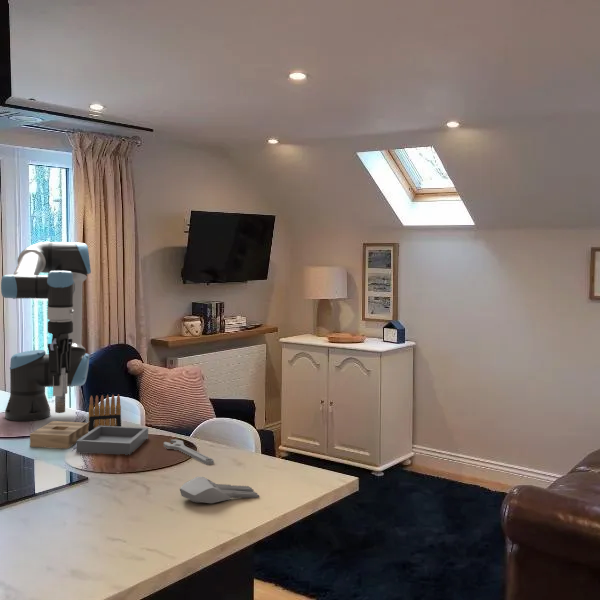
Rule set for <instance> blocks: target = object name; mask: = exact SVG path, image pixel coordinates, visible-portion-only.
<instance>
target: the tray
mask: <svg viewBox="0 0 600 600" xmlns="http://www.w3.org/2000/svg"><path fill="white" fill-rule="evenodd" d="M146 439H147V440H148V439H149V427H136V426H135V427H134V426H121V427H119V426H97V427H96V428H94V429H93V430H91V431H90V432H89V431H88V433H87V434H85V435H84V436H82V437H81V438H80V439H78V440H77V441H76V444H75V446H76V447H75V449H76V450H75V452H76V453H82V454H83V453H85V454H101V453H103V454H104V455H120V454H125V455H124V456H131V455H132V454H133V453H134V452H135V451H136V450H137V449H139V447H141V445H143V444H142V443H143V442H144V441H145V440H146ZM147 440H146V441H147ZM146 441H145V442H146ZM145 442H144V443H145ZM135 449H136V450H135ZM134 450H135V451H134ZM133 451H134V452H133ZM132 452H133V453H132ZM128 454H129V455H128Z"/></svg>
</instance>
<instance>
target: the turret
mask: <svg viewBox="0 0 600 600" xmlns="http://www.w3.org/2000/svg"><path fill="white" fill-rule="evenodd" d="M179 491H180V496H181V497H183V498H185V499H188V500H189V501H191V502H193V503H197V504H199V503H207V504H215V503H219V502H224V501H229V500H230V501H231V500H232V499H239V498H240V499H241V498H243V499H250V498H251V499H253V498H254V499H256V498H257V499H258V498H259V497H260V495H259V494H258V492H255V491H254V489H253V488H252V487H251V486H249V485H231V484H226V483H225V484H222V483H220V484H219V483H216V482H213V481H212V480H210V479H208V478H206V477H204V476H196V477H193V478H192V479H190V480H188V481H186V482H184V483H183V484H182V485H181V487H180V488H179Z"/></svg>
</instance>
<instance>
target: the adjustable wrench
mask: <svg viewBox="0 0 600 600" xmlns="http://www.w3.org/2000/svg"><path fill="white" fill-rule="evenodd" d="M171 443H173V444H171ZM164 447H166V448H167V449H174V450H173V451H177V450H179V451H178V452H180V451H181V453H182V452H183V453H182V454H184V453H185V454H184V455H186V454H187V455H186V456H188V455H189V456H188V457H190V456H191V457H190V458H192V459H193V460H196V461H199V462H200V463H202V464H204V465H206V466H207V465H214V461H215V460H214V458H211V457H210V456H207V455H205V454H203V453H201V452H199V451H196V450H194V449H192V448H190V447H188V446H186V445H185V444H184V440H180V439H176V438H175V439H170V442H167V441H164V442H163V448H164ZM166 448H165V449H166ZM167 449H166V450H167Z"/></svg>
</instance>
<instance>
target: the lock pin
mask: <svg viewBox="0 0 600 600" xmlns="http://www.w3.org/2000/svg"><path fill="white" fill-rule="evenodd" d="M61 375H63V396H54V401H55V402H54V404H55V405H54V409H55V410H54V411H55V414H64V413H66V394H65V367H62V368H61Z"/></svg>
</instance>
